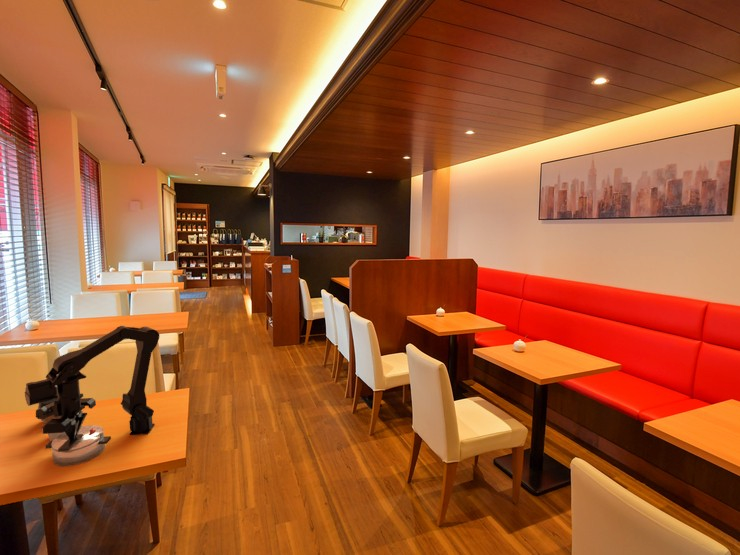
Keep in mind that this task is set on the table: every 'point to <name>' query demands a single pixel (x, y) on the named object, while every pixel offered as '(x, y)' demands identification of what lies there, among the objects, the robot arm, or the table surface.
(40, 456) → the table surface
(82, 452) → the pot
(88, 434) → the lid
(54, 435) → the coffee cup
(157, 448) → the table surface
